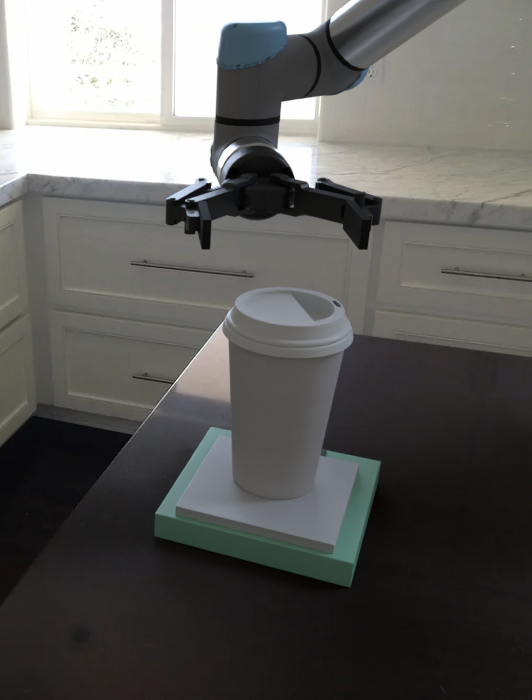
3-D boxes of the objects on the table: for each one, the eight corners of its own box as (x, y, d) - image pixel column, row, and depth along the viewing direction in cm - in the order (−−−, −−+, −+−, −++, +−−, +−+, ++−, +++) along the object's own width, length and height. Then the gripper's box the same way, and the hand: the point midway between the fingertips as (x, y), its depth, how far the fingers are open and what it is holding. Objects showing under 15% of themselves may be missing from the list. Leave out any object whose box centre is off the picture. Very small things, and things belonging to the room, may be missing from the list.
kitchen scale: (209, 446, 81) (211, 418, 79) (377, 482, 75) (382, 452, 73) (153, 536, 68) (154, 504, 67) (350, 588, 62) (355, 554, 61)
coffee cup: (330, 521, 65) (354, 337, 59) (203, 499, 68) (213, 322, 61) (337, 456, 73) (358, 289, 67) (223, 439, 76) (234, 278, 70)
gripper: (367, 212, 95) (425, 276, 76) (139, 212, 97) (141, 275, 78) (375, 143, 92) (439, 191, 73) (140, 145, 94) (142, 193, 75)
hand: (285, 235), depth 75 cm, fingers open, 13 cm apart
